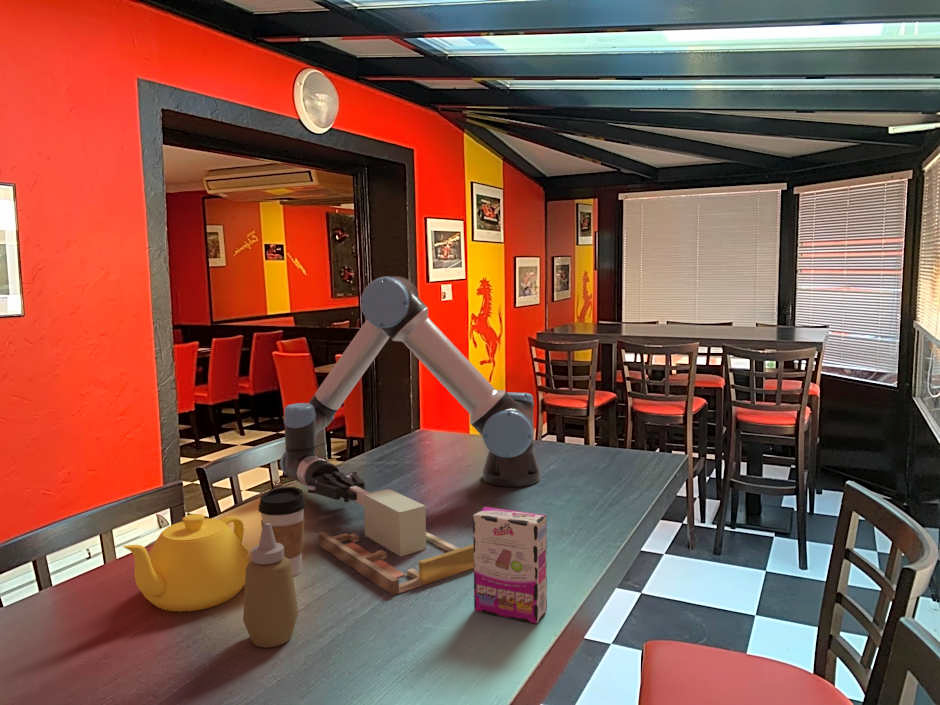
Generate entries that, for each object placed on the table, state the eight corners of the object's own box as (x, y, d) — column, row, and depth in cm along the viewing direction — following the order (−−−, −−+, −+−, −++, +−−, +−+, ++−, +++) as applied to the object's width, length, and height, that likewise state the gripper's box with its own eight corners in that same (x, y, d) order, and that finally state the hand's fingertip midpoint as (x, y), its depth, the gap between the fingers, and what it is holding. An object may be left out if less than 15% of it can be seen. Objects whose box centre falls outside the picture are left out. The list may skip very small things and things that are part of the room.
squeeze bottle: (310, 631, 110) (305, 519, 107) (275, 657, 102) (269, 538, 100) (269, 621, 113) (263, 512, 111) (232, 645, 106) (226, 529, 104)
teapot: (167, 640, 108) (161, 554, 106) (92, 615, 116) (86, 534, 114) (282, 576, 130) (278, 503, 128) (212, 558, 138) (208, 490, 136)
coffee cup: (316, 565, 134) (314, 488, 132) (291, 584, 126) (288, 503, 124) (278, 559, 137) (275, 484, 135) (251, 578, 129) (247, 498, 127)
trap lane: (318, 545, 144) (318, 526, 143) (400, 523, 156) (400, 505, 155) (393, 595, 121) (392, 573, 121) (482, 565, 133) (481, 544, 133)
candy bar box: (548, 611, 115) (548, 514, 113) (537, 625, 111) (537, 524, 109) (485, 598, 120) (484, 504, 118) (472, 611, 116) (471, 514, 114)
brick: (365, 535, 149) (363, 494, 148) (389, 529, 152) (388, 488, 151) (400, 557, 138) (399, 512, 137) (426, 549, 141) (425, 505, 140)
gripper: (343, 484, 175) (393, 509, 157) (293, 495, 167) (340, 523, 149) (342, 455, 174) (393, 476, 156) (292, 464, 166) (339, 488, 148)
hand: (367, 499), depth 152 cm, fingers closed
